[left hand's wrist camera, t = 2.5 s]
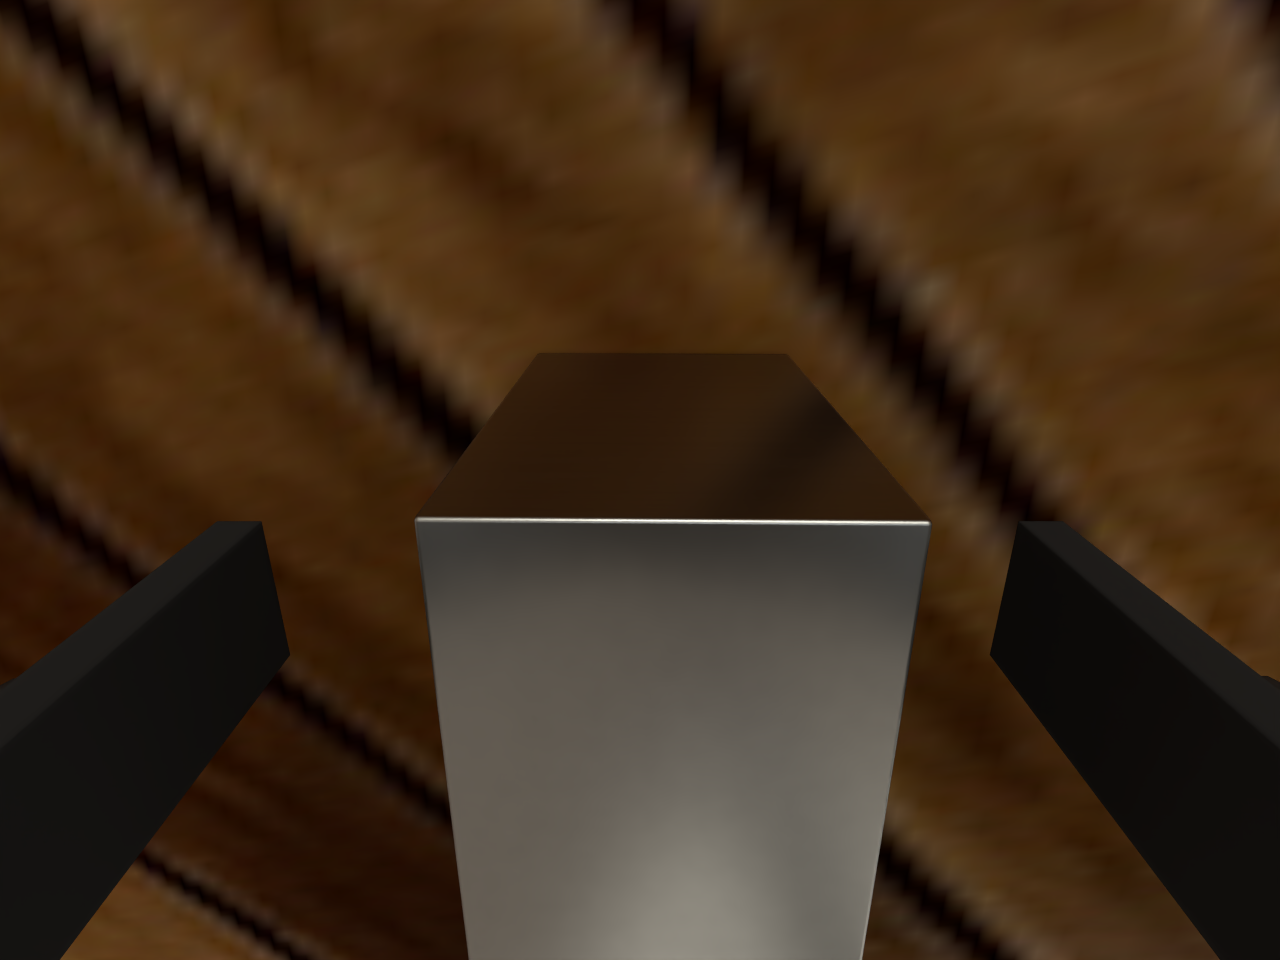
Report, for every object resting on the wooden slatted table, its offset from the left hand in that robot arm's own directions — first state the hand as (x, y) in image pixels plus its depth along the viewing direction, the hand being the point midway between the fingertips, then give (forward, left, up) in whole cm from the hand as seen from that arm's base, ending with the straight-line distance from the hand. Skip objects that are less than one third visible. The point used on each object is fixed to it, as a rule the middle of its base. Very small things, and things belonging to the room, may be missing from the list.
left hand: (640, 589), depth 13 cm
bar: (-7, +6, -4) cm, 10 cm away
